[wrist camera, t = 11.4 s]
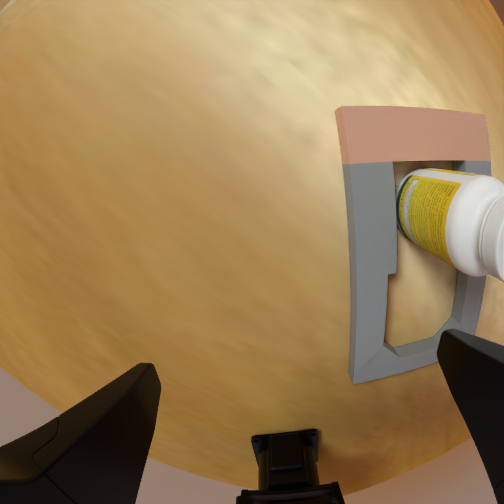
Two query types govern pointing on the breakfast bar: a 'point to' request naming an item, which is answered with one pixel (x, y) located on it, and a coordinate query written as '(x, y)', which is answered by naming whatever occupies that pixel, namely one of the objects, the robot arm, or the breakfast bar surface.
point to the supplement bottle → (455, 218)
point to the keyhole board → (385, 227)
